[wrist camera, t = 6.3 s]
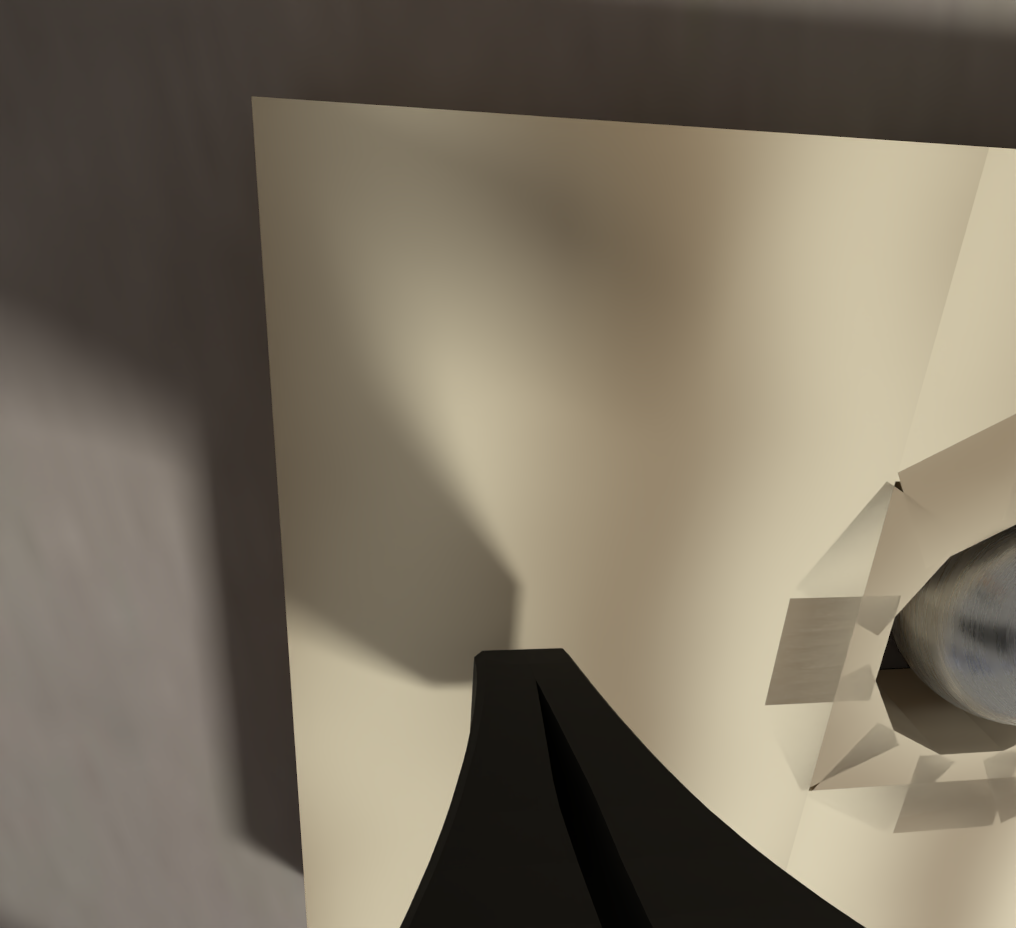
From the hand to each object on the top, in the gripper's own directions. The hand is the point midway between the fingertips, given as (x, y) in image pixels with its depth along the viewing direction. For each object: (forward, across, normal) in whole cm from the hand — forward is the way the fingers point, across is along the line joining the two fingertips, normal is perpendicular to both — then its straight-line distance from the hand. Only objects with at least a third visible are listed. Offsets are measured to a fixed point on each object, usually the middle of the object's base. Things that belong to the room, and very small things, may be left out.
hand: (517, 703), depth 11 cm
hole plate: (+3, -6, 0) cm, 7 cm away
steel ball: (+1, -9, 0) cm, 9 cm away
